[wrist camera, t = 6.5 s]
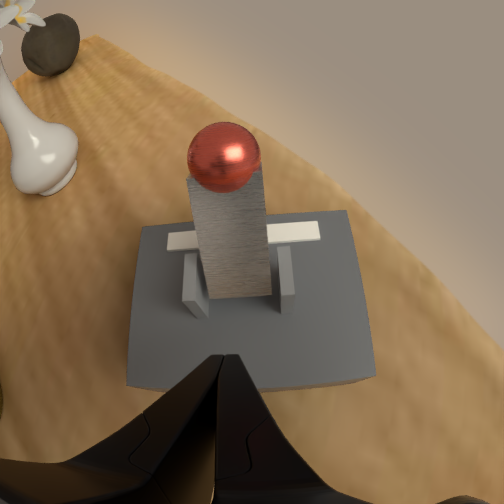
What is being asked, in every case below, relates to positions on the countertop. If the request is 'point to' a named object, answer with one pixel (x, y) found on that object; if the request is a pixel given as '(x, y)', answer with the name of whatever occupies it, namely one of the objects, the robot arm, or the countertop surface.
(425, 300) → the countertop surface
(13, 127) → the flower vase
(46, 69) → the dark brown ball
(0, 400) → the salt shaker
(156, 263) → the switch box
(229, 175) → the switch lever
